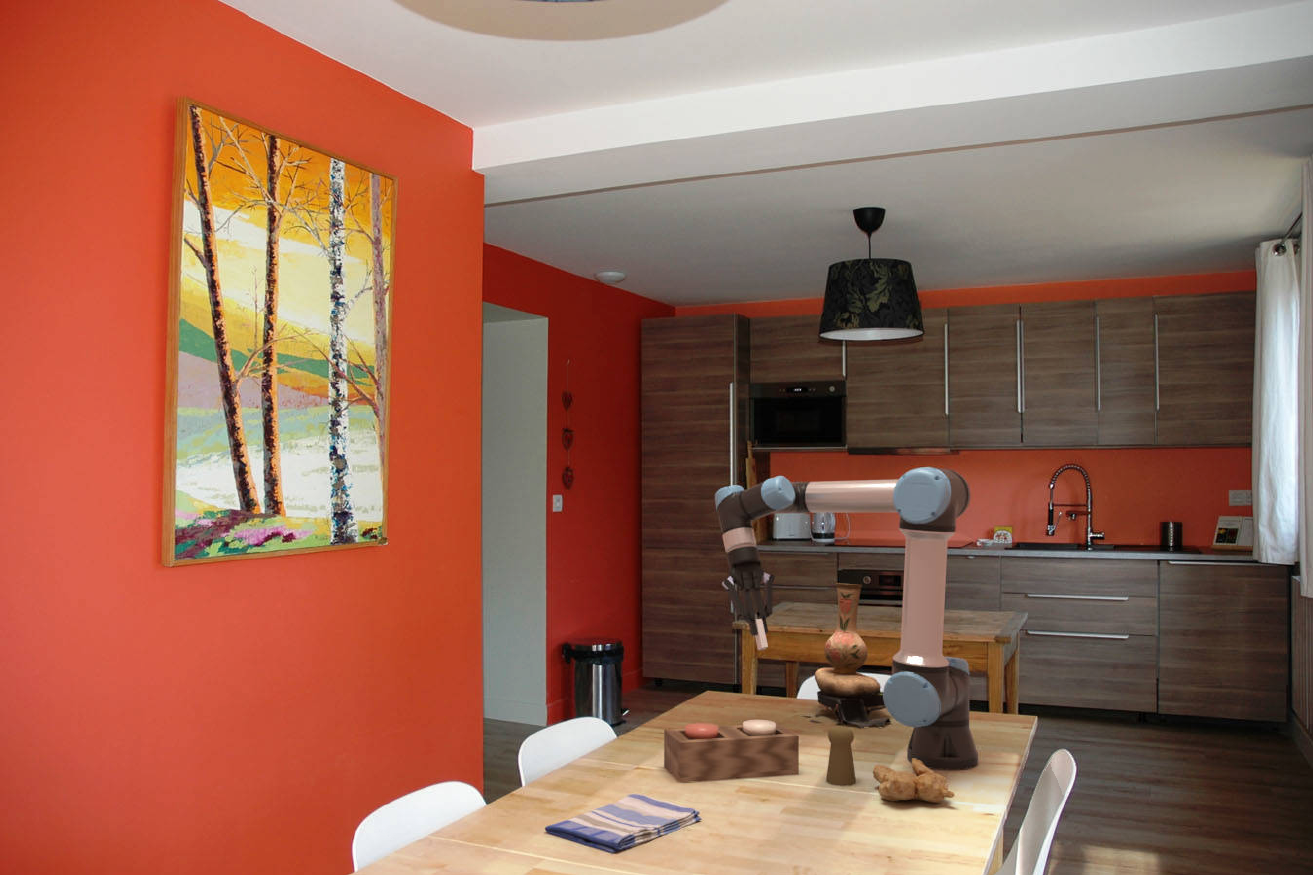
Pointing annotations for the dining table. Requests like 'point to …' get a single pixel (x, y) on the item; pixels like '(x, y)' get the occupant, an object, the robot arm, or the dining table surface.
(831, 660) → the vase
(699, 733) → the red button
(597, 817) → the dish towel
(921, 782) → the ginger root
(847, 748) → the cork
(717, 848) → the dining table surface
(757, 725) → the ivory button
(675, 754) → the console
